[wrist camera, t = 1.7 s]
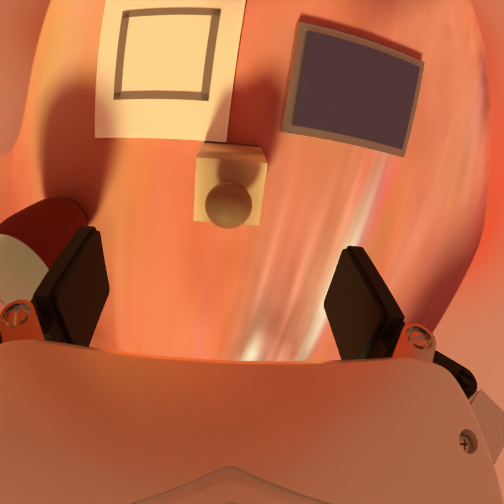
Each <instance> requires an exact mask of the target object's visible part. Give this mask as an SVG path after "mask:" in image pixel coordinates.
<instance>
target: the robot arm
mask: <svg viewBox="0 0 504 504" xmlns="http://www.w3.org/2000/svg"><path fill="white" fill-rule="evenodd" d="M108 295H109V282H108V277H107V272H106V266H105V260H104V254H103V248H102V241H101V235H100V232H99V231H96V228H95V227H91V226H80V227H79V229H78V230H77V231H76V233H75V234H74V235H73V237H72V238H71V239H70V241H69V242H68V243H67V245H66V246H65V247H64V249H63V250H62V252H61V253H60V254H59V256H58V257H57V259H56V260H55V262H54V263H53V265H52V266H51V268H50V269H49V271H48V272H47V274H46V275H45V277H44V278H43V280H42V281H41V283H40V284H39V286H38V287H37V289H36V291H35V292H34V294H33V298H32V299H31V301H28V300H16V301H13V302H11V303H9V304H8V305H7V306H5V308H4V309H3V310H2V311H1V314H0V504H503V499H502V495H501V490H500V487H499V482H498V479H497V475H496V471H495V468H494V464H495V462H496V460H497V458H498V456H499V454H500V452H501V450H502V448H503V446H504V412H503V411H502V410H501V409H500V408H499V407H498V406H497V405H496V404H495V403H494V402H493V401H492V400H491V399H490V398H489V397H488V396H487V395H486V394H485V393H484V392H483V391H482V390H481V389H480V390H479V391H477V382H476V379H475V377H474V376H473V374H472V373H471V372H470V371H469V370H468V369H466V368H465V367H463V366H461V365H460V364H458V363H456V362H455V361H453V360H451V359H450V358H448V357H446V356H445V355H443V354H441V353H439V352H438V351H436V350H435V348H436V340H435V338H434V336H433V334H432V333H431V332H430V331H429V330H428V329H427V328H426V327H424V326H422V325H420V324H417V323H409V324H407V325H405V323H404V321H403V320H404V318H405V316H404V315H403V313H402V311H401V309H400V308H399V306H398V304H397V302H396V301H395V299H394V297H393V296H392V294H391V292H390V290H389V289H388V287H387V285H386V284H385V282H384V280H383V279H382V277H381V276H380V274H379V272H378V271H377V269H376V267H375V266H374V264H373V263H372V261H371V259H370V258H369V256H368V255H367V253H366V252H365V250H364V249H363V248H362V247H357V246H348V247H347V248H346V249H343V250H342V252H341V255H340V258H339V261H338V264H337V267H336V270H335V273H334V275H333V278H332V281H331V284H330V287H329V289H328V292H327V295H326V297H325V300H324V309H325V312H326V315H327V318H328V321H329V323H330V326H331V329H332V332H333V335H334V338H335V341H336V344H337V347H338V350H339V353H340V357H341V360H333V361H301V362H258V361H225V360H206V359H191V358H178V357H166V356H156V355H146V354H137V353H129V352H121V351H114V350H107V349H100V348H93V347H89V345H90V342H91V339H92V336H93V333H94V331H95V328H96V325H97V323H98V320H99V317H100V315H101V312H102V310H103V307H104V305H105V302H106V300H107V297H108Z"/></svg>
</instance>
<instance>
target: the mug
mask: <svg viewBox="0 0 504 504" xmlns="http://www.w3.org/2000/svg"><path fill="white" fill-rule="evenodd" d="M80 226H87V220H86V215H85V213H84V211H83V209H82V208H81V206H80V205H79V204H77V203H76V202H75V201H72V200H70V199H64V198H48V199H44V200H41V201H39V202H37V203H35V204H33V205H31V206H29V207H27V208H25V209H23V210H21V211H19V212H17V213H15V214H14V215H12V216H10V217H9V218H7V219H6V220H5V221H3V222H2V223H1V224H0V301H1V302H2V303H3V304H4V305H6V306H7V305H8V304H9V303H11V302H13V301H16V300H28V301H31V299H32V298H33V294H34V292H35V291H36V289H37V287H38V286H39V284H40V283H41V281H42V280H43V278H44V277H45V275H46V274H47V272H48V271H49V269H50V268H51V266H52V265H53V263H54V262H55V260H56V259H57V257H58V256H59V254H60V253H61V252H62V250H63V249H64V247H65V246H66V245H67V243H68V242H69V241H70V239H71V238H72V237H73V235H74V234H75V233H76V231H77V230H78V229H79V227H80Z"/></svg>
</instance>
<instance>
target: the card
mask: <svg viewBox="0 0 504 504" xmlns="http://www.w3.org/2000/svg"><path fill="white" fill-rule="evenodd" d="M245 3H246V0H106V3H105V9H104V15H103V21H102V28H101V36H100V44H99V53H98V64H97V77H96V95H95V138H165V139H187V140H202V141H215V142H226V140H227V131H228V123H229V114H230V106H231V98H232V91H233V83H234V76H235V68H236V61H237V54H238V47H239V41H240V34H241V27H242V21H243V15H244V9H245Z"/></svg>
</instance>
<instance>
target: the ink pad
mask: <svg viewBox="0 0 504 504" xmlns="http://www.w3.org/2000/svg"><path fill="white" fill-rule="evenodd" d="M423 68H424V62H422V61H420V60H418V59H416V58H413V57H411V56H409V55H406V54H404V53H402V52H399V51H397V50H394V49H392V48H389V47H386V46H384V45H381V44H378V43H375V42H372V41H370V40H367V39H364V38H360V37H357V36H354V35H351V34H348V33H344V32H341V31H337V30H333V29H330V28H326V27H322V26H318V25H313V24H309V23H304V22H300V21H299V22H298V23H296V29H295V36H294V42H293V48H292V55H291V61H290V67H289V73H288V80H287V86H286V92H285V98H284V105H283V111H282V117H281V123H280V129H279V130H280V131H281V132H287V133H293V134H300V135H306V136H311V137H317V138H322V139H328V140H333V141H338V142H343V143H347V144H352V145H356V146H361V147H365V148H369V149H374V150H378V151H382V152H386V153H389V154H393V155H397V156H401V157H404V155H405V151H406V147H407V143H408V140H409V136H410V131H411V127H412V123H413V119H414V114H415V110H416V105H417V100H418V95H419V90H420V85H421V79H422V74H423Z"/></svg>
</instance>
